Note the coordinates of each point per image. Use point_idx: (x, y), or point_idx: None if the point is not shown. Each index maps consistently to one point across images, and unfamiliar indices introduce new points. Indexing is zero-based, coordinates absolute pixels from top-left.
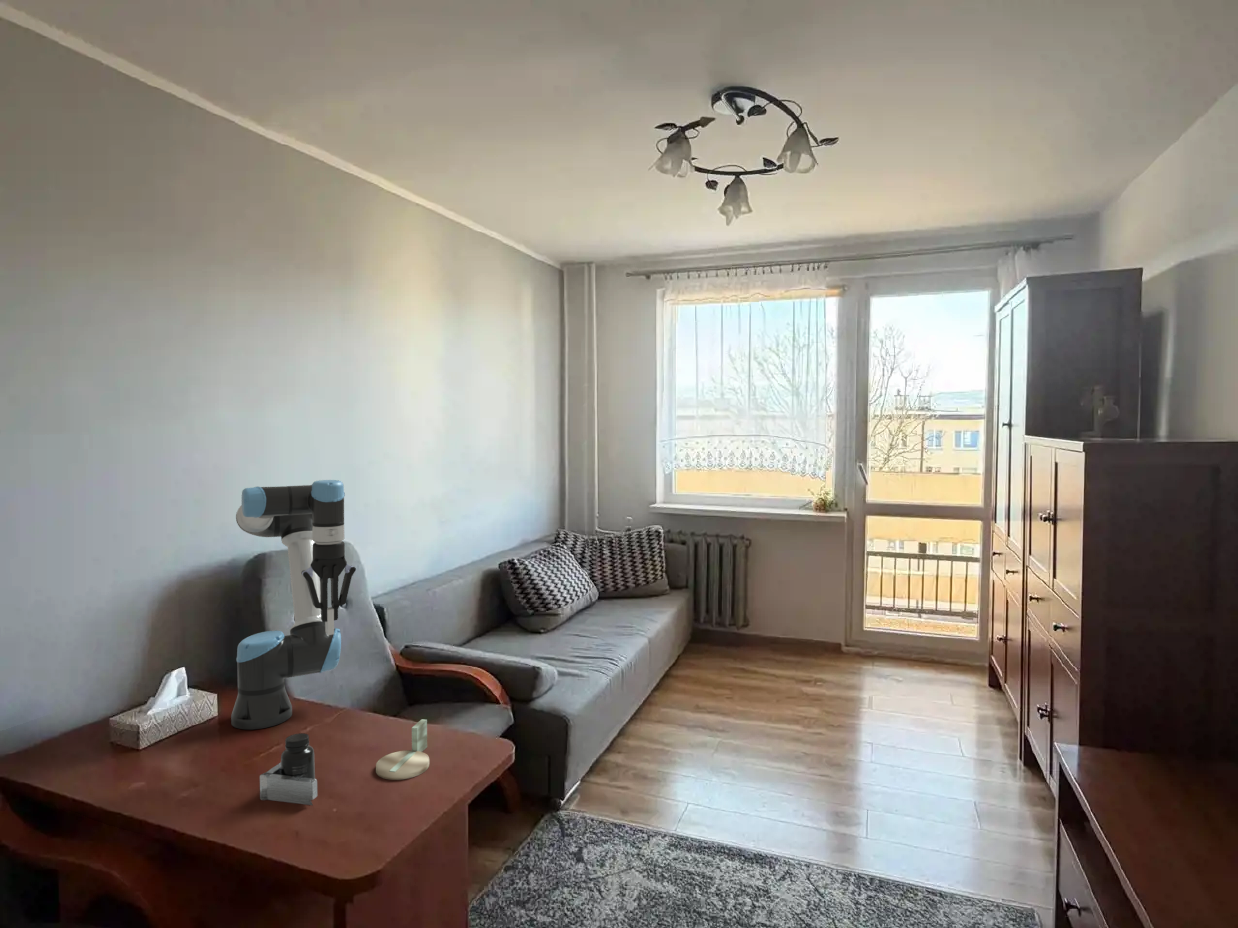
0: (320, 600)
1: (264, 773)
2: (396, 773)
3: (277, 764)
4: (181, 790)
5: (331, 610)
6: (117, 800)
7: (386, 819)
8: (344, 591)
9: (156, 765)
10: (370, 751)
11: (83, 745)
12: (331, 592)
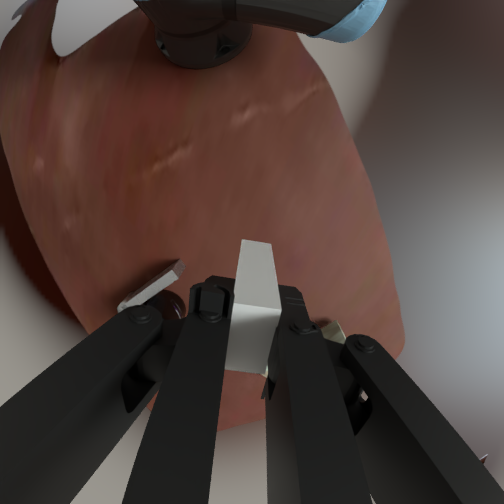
0: (177, 344)
1: (122, 305)
2: (264, 374)
3: (139, 293)
4: (65, 212)
5: (249, 366)
6: (25, 193)
7: (224, 404)
8: (365, 470)
9: (57, 119)
10: (285, 269)
11: (36, 28)
12: (284, 428)
